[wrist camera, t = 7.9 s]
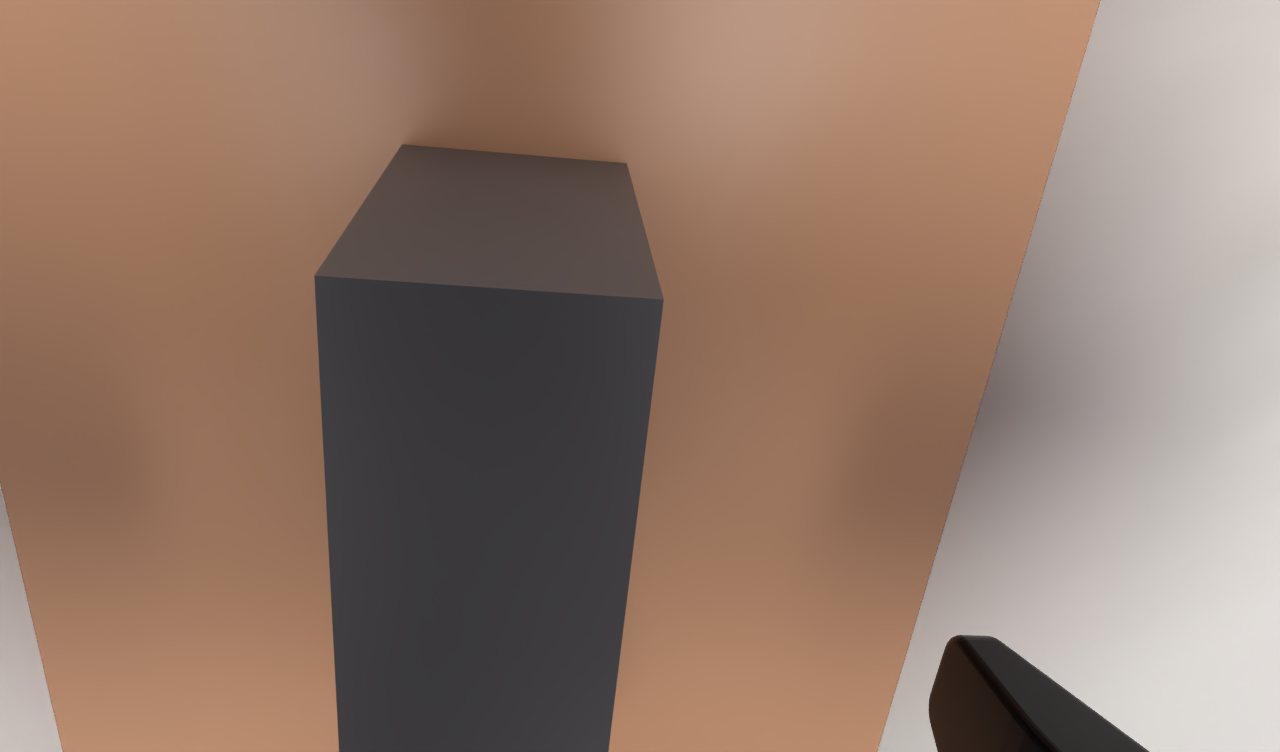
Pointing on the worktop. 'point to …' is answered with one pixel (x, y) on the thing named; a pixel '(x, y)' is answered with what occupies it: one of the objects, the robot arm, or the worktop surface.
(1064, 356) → the worktop surface
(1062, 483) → the worktop surface
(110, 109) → the lid
